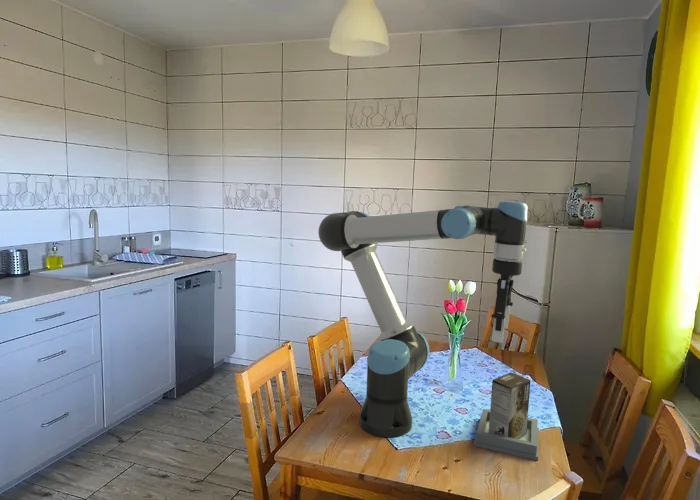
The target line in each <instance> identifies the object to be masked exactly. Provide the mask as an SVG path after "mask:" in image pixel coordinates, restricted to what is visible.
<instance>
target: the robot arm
mask: <svg viewBox="0 0 700 500" xmlns="http://www.w3.org/2000/svg"><path fill="white" fill-rule="evenodd" d="M528 209H529V208H528V204H526V203H525V202H522V201H521V202H519V201H507V200H501V201H499V202H498V205H497V207H484V206H473V205H456V206H455V207H454V208H449V209H447V208H446V209H439V210H438V209H437V210H426V211H425V210H424V211H418V212H417V211H416V212H405V213H395V214H383V215H374V216H369V215H368V214H367V213H365V212H362V211H357V210H353V211H351V210H350V211H347V212H345V211H344V212H333V213H331V214H329V215H328V214H327V216H325V217H324V218H323V219H322V221H321V222H320V224H319V226H318V238H319V240H320V243H321V245H323V246H324V247H325V248H327V250H329V251H333V252H341V255H342V257H343V259H344V260H345V261H347V262H350V263H351V265H352V268H353V270H354V272H355V275H356V277H357V279H358V281H359V283H360V286H361V289H362V291H363V293H364V295H365V298H366V300H367V302H368V305H369V307H370V309H371V312H372V315H373V316H374V318H375V320H376V323H377V325H378V328H379V331H380V336H379V338H378V341H376V342H374V343H373V344H371V346H370V347H369V349H368V352H367V357H366V358H367V359H366V362H367V363H366V364H367V368H366V369H367V370H366V371H367V372H366V396H365V400H364V402H363V404H362V407H361V410H360V412H359V426H360V428H361V429H362V430H364V431H365V432H366V433H369V434H371V435H373V436H376V437H382V438H383V437H384V438H396V437H400V436H404V435H406V434H408V433H409V432H410V431H411V429H412V427H413V416H412V412H411V409H410V406H409V402H408V390H409V389H408V387H409V385H408V384H409V379H410V378H411V377H413V376H414V375H415V374H416V373H418V372H419V371H420V370H421V369H423V367H424V366H425V364H426V363H427V361H428V360H429V357H430V345H429V343H428V342H429V341H428V340H427V339H426V337H425V336H424V335H423V334H422V333H420V332H418V331H417V329H416V327H415V325H414V324H413V323H411V322H409V321H408V320H407V318H406V317H405V315H404V313H403V310H402V308H401V305H400V303H399V301H398V299H397V297H396V295H395V292H394V290H393V287H392V286H391V282H390V281H389V278H388V276H387V274H386V272H385V270H384V267H383V265H382V263H381V260H380V258H379V256H378V253H377V248H378V245H379V244H384V243H396V242H411V241H412V242H413V241H426V240H427V241H429V240H442V239H443V240H444V239H445V240H447V239H454V240H463V239H466V238H468V237H469V236H474V235H483V236H495V239H494V240H495V241H494V245H493V257H494V258H493V260H492V266H491V267H492V272H493V273H494V274H498V275H500V277H499V278H498V279H497V281H496V282H497V283H496V297H495V298H496V299H495V305H494V312H493V313H492V314H491V318H493V325H492V326H493V327H492V335H491V342H494V343H499V344H502V343H504V342H503V341H504V332H505V329H507V330H508V327H509V320H510V310H511V308H510V307H513V305H514V302H513V301H512V291H513V286H514V279H513V277H514V276H520V275H521V274H522V269H523V262H522V260H523V258H524V257H523V256H524V253H526V252H527V248H524V246H525V239H526V232H527V225H528Z"/></svg>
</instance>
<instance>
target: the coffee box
mask: <svg viewBox="0 0 700 500" xmlns="http://www.w3.org/2000/svg"><path fill="white" fill-rule="evenodd" d="M491 381H492V382H491V384H492V385H491V393H490V394H491V397H490V409H489V410H490V421H489V433H491V434H496V435H501V436H505V437H510V438H514V439H519V438H520V437H522V436H524V435H526V432H527V419H528V418H529V417H528V415H529V405H530V404H529V402H530V394H531V393H530V392H531V391H530V390H531V379H529V378H526V377H524V376H521V375H520V374H517V373H514V372H508V373H506V374H503V375H502V376H498V377H496V378H494V379H492V380H491Z"/></svg>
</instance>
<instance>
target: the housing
mask: <svg viewBox="0 0 700 500" xmlns="http://www.w3.org/2000/svg"><path fill="white" fill-rule="evenodd" d="M489 421H490V409H487V408H482V411H481V415H480V418H479V422H478V425H477V429H476V432H475V435H474V441H473V447H477V448H481V449H485V450H490V451H493V452H499V453H504V454H507V455H513V456H516V457H521V458H523V459H529V460H534V461H539V436H540V435H539V433H540V432H539V427H538V419H537V418H536V419H535V418H531V417H528V419H527V432H526V435H524V436H522V437H520V438H519V439H514V438H510V437H505V436H501V435H496V434H491V433H489Z"/></svg>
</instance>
